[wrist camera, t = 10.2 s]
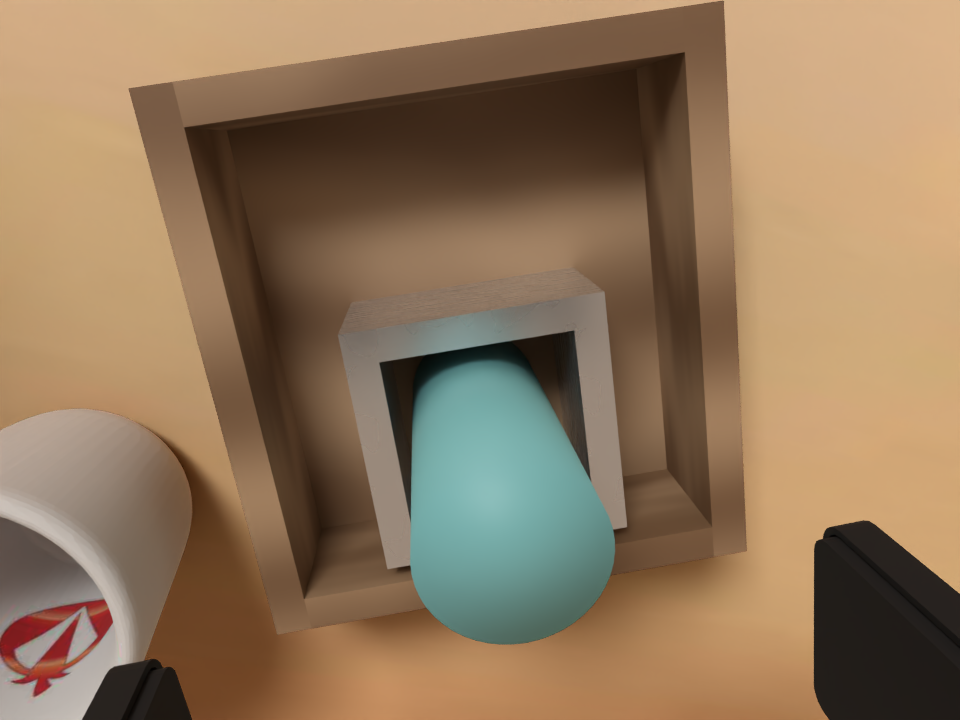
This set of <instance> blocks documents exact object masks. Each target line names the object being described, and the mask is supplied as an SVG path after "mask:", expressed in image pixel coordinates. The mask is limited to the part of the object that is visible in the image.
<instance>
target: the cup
mask: <svg viewBox="0 0 960 720" xmlns="http://www.w3.org/2000/svg"><path fill="white" fill-rule="evenodd" d="M191 520H192V498H191V491H190V487H189V483H188V480H187V477H186V475H185V472H184V470H183V468H182V466H181V464H180V463H179V461H178V459H177V458H176V456H175V455H174V453H173V452H172V451H171V450H170V449H169V447H168V446H167V445H166V444H165V443H164V442H163V441H162V440H161V439H160V438H159V437H158V436H156V435H155V434H154V433H152V432H151V431H150V430H148V429H147V428H145V427H143V426H142V425H140V424H138V423H136V422H134V421H132V420H130V419H128V418H125V417H123V416H120V415H117V414H114V413H110V412H106V411H101V410H93V409H65V410H56V411H51V412H47V413H42V414H39V415H36V416H32V417H29V418H27V419H24V420H22V421H19V422H17V423H15V424H12V425H10V426H8V427H6V428H4V429H1V430H0V720H82V718H83V717H84V715H85V713H86V711H87V709H88V707H89V705H90V703H91V701H92V700H93V698H94V696H95V694H96V692H97V690H98V688H99V686H100V684H101V683H102V681H103V679H104V677H105V675H106V674H107V672H108V671H109V669H111V668H113V667H114V666H119V665H125V664H130V663H135V662H140V661H144V659H145V656H146V654H147V651H148V648H149V645H150V643H151V640H152V637H153V634H154V632H155V629H156V626H157V624H158V621H159V618H160V615H161V613H162V610H163V607H164V604H165V602H166V599H167V596H168V594H169V591H170V588H171V585H172V583H173V580H174V577H175V575H176V572H177V569H178V566H179V564H180V561H181V558H182V555H183V552H184V549H185V546H186V543H187V540H188V537H189V533H190V527H191Z"/></svg>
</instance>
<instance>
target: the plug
mask: <svg viewBox="0 0 960 720" xmlns="http://www.w3.org/2000/svg"><path fill="white" fill-rule="evenodd" d="M614 556H615V538H614V532H613V527H612V524H611V521H610V518H609V516H608V514H607V512H606V510H605V508H604V506H603V504H602V502H601V500H600V498H599V496H598V494H597V492H596V491H595V489H594V487H593V485H592V483H591V481H590V479H589V477H588V475H587V473H586V471H585V469H584V467H583V466H582V464H581V462H580V460H579V458H578V456H577V454H576V452H575V450H574V448H573V446H572V444H571V442H570V440H569V439H568V437H567V435H566V433H565V431H564V429H563V427H562V425H561V423H560V421H559V419H558V417H557V415H556V414H555V412H554V410H553V408H552V406H551V404H550V402H549V400H548V398H547V396H546V394H545V392H544V390H543V388H542V387H541V385H540V383H539V381H538V379H537V377H536V375H535V373H534V371H533V369H532V367H531V365H530V363H529V362H528V360H527V358H526V357H525V355H524V354H523V352H522V351H521V350H520V349H519V348H518V347H517V346H516V345H514V344H513V343H512V342H510V341H506V342H500V343H494V344H488V345H482V346H476V347H470V348H464V349H458V350H451V351H445V352H439V353H433V354H427V355H425V356H424V357H423V359H422V361H421V362H420V364H419V366H418V368H417V370H416V374H415V377H414V382H413V413H412V476H411V540H410V566H411V574H412V578H413V582H414V585H415V588H416V590H417V592H418V595H419V597H420V598H421V600H422V602H423V603H424V605H425V606H426V608H427V609H428V610H429V611H430V612H431V613H432V615H433V616H434V617H435V618H436V619H438V620H439V621H440V622H441V623H442V624H443V625H445V626H446V627H448V628H449V629H451V630H452V631H454V632H456V633H458V634H460V635H462V636H464V637H467V638H470V639H473V640H476V641H481V642H485V643H491V644H520V643H528V642H532V641H536V640H540V639H543V638H546V637H548V636H551V635H553V634H555V633H557V632H559V631H561V630H563V629H565V628H567V627H568V626H570V625H571V624H573V623H574V622H576V621H577V620H578V619H579V618H580V617H582V616H583V615H584V614H585V613H586V612H587V611H588V610H589V609H590V608H591V607H592V606H593V605H594V603H595V602H596V601H597V599H598V598H599V597H600V595H601V593H602V592H603V590H604V588H605V586H606V584H607V582H608V580H609V577H610V575H611V571H612V567H613V564H614Z"/></svg>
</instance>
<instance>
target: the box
mask: <svg viewBox="0 0 960 720" xmlns="http://www.w3.org/2000/svg"><path fill="white" fill-rule="evenodd" d="M129 92H130V96H131V99H132V103H133V107H134V110H135V114H136V118H137V121H138V125H139V129H140V132H141V136H142V140H143V143H144V147H145V151H146V154H147V158H148V162H149V165H150V169H151V173H152V176H153V180H154V184H155V187H156V191H157V195H158V198H159V202H160V206H161V210H162V213H163V217H164V221H165V224H166V228H167V232H168V235H169V239H170V243H171V246H172V250H173V254H174V257H175V261H176V265H177V268H178V272H179V276H180V279H181V283H182V287H183V290H184V294H185V298H186V301H187V305H188V309H189V312H190V316H191V320H192V323H193V327H194V331H195V334H196V338H197V342H198V345H199V349H200V353H201V356H202V360H203V364H204V367H205V371H206V375H207V378H208V382H209V386H210V389H211V393H212V397H213V400H214V404H215V408H216V412H217V415H218V419H219V423H220V426H221V430H222V434H223V437H224V441H225V445H226V448H227V452H228V456H229V459H230V463H231V467H232V470H233V474H234V478H235V481H236V485H237V489H238V492H239V496H240V500H241V503H242V507H243V511H244V514H245V518H246V522H247V525H248V529H249V533H250V536H251V540H252V544H253V547H254V551H255V555H256V558H257V562H258V566H259V569H260V573H261V577H262V580H263V584H264V588H265V591H266V595H267V599H268V603H269V606H270V610H271V614H272V617H273V621H274V625H275V628H276V632H277V635H278V634H284V633H290V632H295V631H301V630H306V629H312V628H318V627H323V626H329V625H335V624H340V623H346V622H351V621H357V620H363V619H368V618H374V617H380V616H385V615H391V614H396V613H402V612H408V611H413V610H419V609H424V608H426V606H425V605H424V603H423V602H422V600H421V598H420V597H419V595H418V592H417V590H416V588H415V585H414V582H413V578H412V574H411V566H410V565H408V566H403V567H397V568H391V569H387V564H386V560H385V555H384V550H383V546H382V541H381V536H380V531H379V527H378V522H377V517H376V513H375V508H374V503H373V498H372V494H371V489H370V484H369V479H368V475H367V470H366V465H365V461H364V456H363V451H362V446H361V442H360V437H359V432H358V428H357V423H356V418H355V413H354V409H353V404H352V399H351V394H350V390H349V385H348V380H347V376H346V371H345V366H344V361H343V357H342V352H341V347H340V343H339V338H338V334H339V331H340V329H341V326H342V324H343V322H344V319H345V317H346V314H347V312H348V309H349V307H350V305H351V303H353V302H359V301H365V300H371V299H377V298H384V297H390V296H396V295H402V294H408V293H415V292H421V291H427V290H433V289H440V288H446V287H452V286H458V285H464V284H471V283H477V282H483V281H489V280H495V279H502V278H508V277H514V276H520V275H527V274H533V273H539V272H545V271H551V270H558V269H564V268H570V267H573V268H575V269H576V270H577V271H579V272H580V273H581V274H582V275H584V276H585V277H586V278H588V279H589V280H590V281H591V282H593V283H594V284H595V285H596V286H598V287H599V288H600V289H602V290H603V291H604V292H605V302H606V312H607V323H608V333H609V343H610V354H611V364H612V374H613V385H614V395H615V405H616V416H617V426H618V437H619V447H620V457H621V468H622V478H623V488H624V499H625V509H626V519H627V527H625V528H619V529H614V530H613V532H614V538H615V556H614V564H613V567H612V571H611V575H615V574H621V573H627V572H632V571H638V570H644V569H649V568H655V567H660V566H666V565H672V564H677V563H683V562H689V561H694V560H700V559H705V558H711V557H717V556H722V555H728V554H733V553H739V552H745V551H747V546H746V522H745V498H744V475H743V451H742V427H741V403H740V379H739V355H738V331H737V307H736V283H735V259H734V235H733V212H732V188H731V164H730V140H729V116H728V92H727V68H726V44H725V20H724V1H718V2H711V3H704V4H697V5H691V6H684V7H677V8H670V9H664V10H657V11H650V12H643V13H637V14H630V15H623V16H616V17H609V18H603V19H596V20H589V21H582V22H576V23H569V24H562V25H555V26H548V27H542V28H535V29H528V30H521V31H515V32H508V33H501V34H494V35H488V36H481V37H474V38H467V39H460V40H454V41H447V42H440V43H433V44H427V45H420V46H413V47H406V48H399V49H393V50H386V51H379V52H372V53H366V54H359V55H352V56H345V57H339V58H332V59H325V60H318V61H311V62H305V63H298V64H291V65H284V66H278V67H271V68H264V69H257V70H250V71H244V72H237V73H230V74H223V75H217V76H210V77H203V78H196V79H190V80H183V81H176V82H169V83H162V84H156V85H149V86H142V87H135V88H129ZM510 342H512V343H513V344H514V345H516V346H517V347H518V348H519V349H520V350H521V351H522V352H523V354H524V355H525V357H526V358H527V360H528V362H529V363H530V365H531V367H532V369H533V371H534V373H535V375H536V377H537V379H538V381H539V383H540V385H541V387H542V388H543V390H544V392H545V394H546V396H547V398H548V400H549V402H550V404H551V406H552V408H553V410H554V412H555V414H556V415H557V417H558V419H559V421H560V423H561V425H562V427H563V420H562V412H561V403H560V395H559V387H558V378H557V370H556V362H555V354H554V345H553V337H552V334H549V335H543V336H537V337H531V338H524V339H518V340H512V341H510ZM424 356H425V355H421V356H415V357H409V358H403V359H397V360H392V363H393V368H394V374H395V379H396V384H397V389H398V395H399V400H400V405H401V410H402V416H403V421H404V426H405V431H406V437H407V442H408V447H409V452H410V457H411V463H412V413H413V382H414V377H415V374H416V370H417V368H418V366H419V364H420V362H421V361H422V359H423V357H424ZM563 429H564V428H563Z"/></svg>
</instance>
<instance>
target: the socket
mask: <svg viewBox="0 0 960 720" xmlns="http://www.w3.org/2000/svg"><path fill="white" fill-rule="evenodd" d="M549 334H552V337H553V345H554V354H555V362H556V370H557V378H558V387H559V395H560V403H561V412H562V420H563V428H564V431H565V433H566V435H567V437H568V439H569V440H570V442H571V444H572V446H573V448H574V450H575V452H576V454H577V456H578V458H579V460H580V462H581V464H582V466H583V467H584V469H585V471H586V473H587V475H588V477H589V479H590V481H591V483H592V485H593V487H594V489H595V491H596V492H597V494H598V496H599V498H600V500H601V502H602V504H603V506H604V508H605V510H606V512H607V514H608V516H609V518H610V521H611V524H612V527H613V530H614V529H619V528H625V527H627V519H626V509H625V499H624V488H623V478H622V468H621V457H620V447H619V437H618V426H617V416H616V405H615V395H614V385H613V374H612V364H611V354H610V343H609V333H608V323H607V312H606V302H605V292H604V291H603V290H602V289H600V288H599V287H598V286H596V285H595V284H594V283H593V282H591V281H590V280H589V279H588V278H586V277H585V276H584V275H582V274H581V273H580V272H579V271H577V270H576V269H575V268H573V267H570V268H564V269H558V270H551V271H545V272H539V273H533V274H527V275H520V276H514V277H508V278H502V279H495V280H489V281H483V282H477V283H471V284H464V285H458V286H452V287H446V288H440V289H433V290H427V291H421V292H415V293H408V294H402V295H396V296H390V297H384V298H377V299H371V300H365V301H359V302H353V303H351V305H350V307H349V309H348V312H347V314H346V317H345V319H344V322H343V324H342V326H341V329H340V331H339V334H338V338H339V343H340V347H341V352H342V357H343V361H344V366H345V371H346V376H347V380H348V385H349V390H350V394H351V399H352V404H353V409H354V413H355V418H356V423H357V428H358V432H359V437H360V442H361V446H362V451H363V456H364V461H365V465H366V470H367V475H368V479H369V484H370V489H371V494H372V498H373V503H374V508H375V513H376V517H377V522H378V527H379V531H380V536H381V541H382V546H383V550H384V555H385V560H386V564H387V569H391V568H397V567H403V566H408V565H410V540H411V476H412V463H411V457H410V452H409V447H408V442H407V437H406V431H405V426H404V421H403V416H402V410H401V405H400V400H399V395H398V389H397V384H396V379H395V374H394V368H393V363H392V360H397V359H403V358H409V357H415V356H421V355H427V354H433V353H439V352H445V351H451V350H458V349H464V348H470V347H476V346H482V345H488V344H494V343H500V342H506V341H512V340H518V339H524V338H531V337H537V336H543V335H549Z"/></svg>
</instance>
